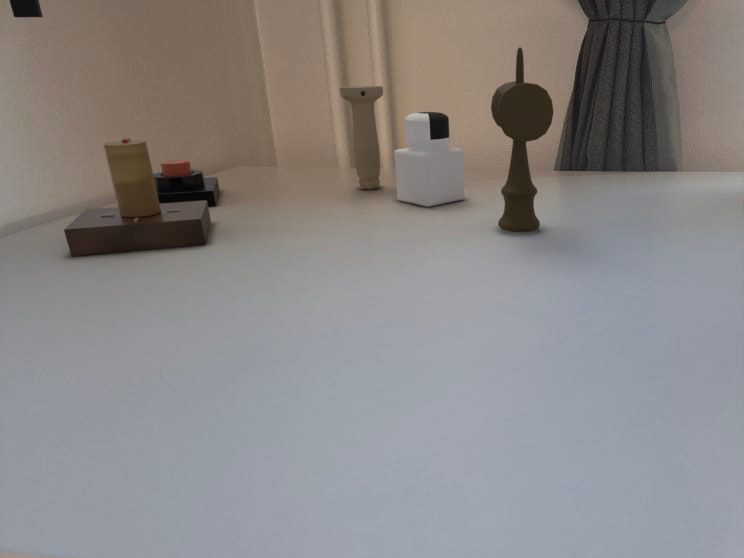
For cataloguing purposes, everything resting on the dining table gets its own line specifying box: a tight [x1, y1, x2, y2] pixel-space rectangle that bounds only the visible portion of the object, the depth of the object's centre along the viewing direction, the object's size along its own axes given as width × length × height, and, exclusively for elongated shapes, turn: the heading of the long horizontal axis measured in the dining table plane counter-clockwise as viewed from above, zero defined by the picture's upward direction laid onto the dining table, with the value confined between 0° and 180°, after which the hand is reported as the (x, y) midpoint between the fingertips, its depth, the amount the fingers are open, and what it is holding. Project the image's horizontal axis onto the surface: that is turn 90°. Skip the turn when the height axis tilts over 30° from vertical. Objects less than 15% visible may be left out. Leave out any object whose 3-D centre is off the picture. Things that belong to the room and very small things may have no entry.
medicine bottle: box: [393, 111, 465, 208], centre depth 96 cm, size 7×7×12 cm
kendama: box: [490, 46, 554, 233], centre depth 77 cm, size 6×10×20 cm, turn 6°
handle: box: [339, 85, 384, 191], centre depth 105 cm, size 5×6×15 cm
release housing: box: [153, 169, 221, 207], centre depth 101 cm, size 10×12×4 cm
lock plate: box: [63, 200, 212, 257], centre depth 80 cm, size 14×11×3 cm
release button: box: [159, 159, 192, 176], centre depth 100 cm, size 4×4×2 cm
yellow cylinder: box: [103, 137, 161, 217], centre depth 78 cm, size 4×4×8 cm
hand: (28, 16), depth 81 cm, fingers closed
